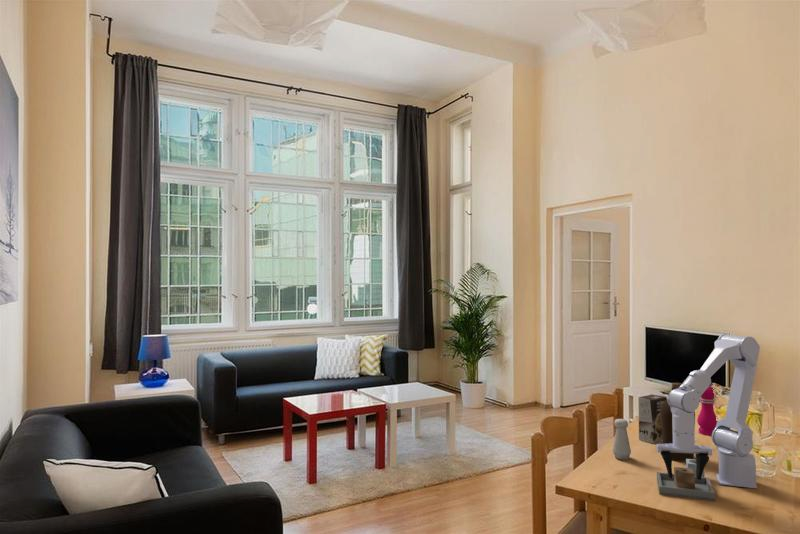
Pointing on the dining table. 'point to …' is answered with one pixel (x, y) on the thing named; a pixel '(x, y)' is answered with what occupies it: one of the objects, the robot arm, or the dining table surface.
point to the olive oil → (668, 430)
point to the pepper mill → (707, 413)
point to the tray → (668, 488)
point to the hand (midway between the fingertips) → (684, 477)
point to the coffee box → (650, 418)
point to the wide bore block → (692, 465)
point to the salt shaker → (621, 440)
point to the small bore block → (684, 478)
